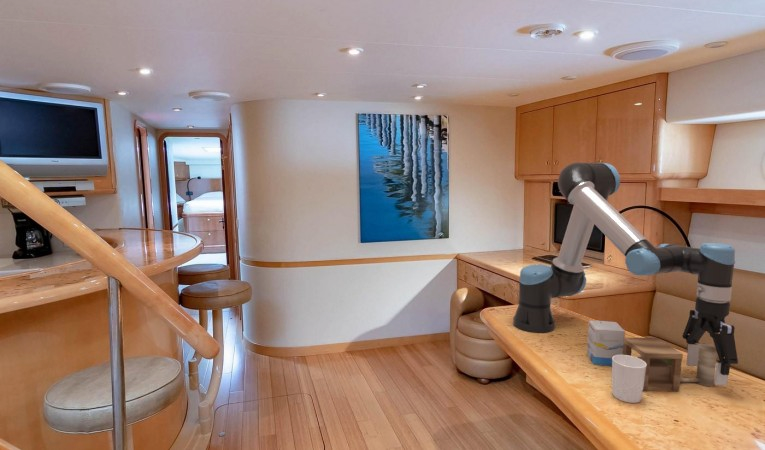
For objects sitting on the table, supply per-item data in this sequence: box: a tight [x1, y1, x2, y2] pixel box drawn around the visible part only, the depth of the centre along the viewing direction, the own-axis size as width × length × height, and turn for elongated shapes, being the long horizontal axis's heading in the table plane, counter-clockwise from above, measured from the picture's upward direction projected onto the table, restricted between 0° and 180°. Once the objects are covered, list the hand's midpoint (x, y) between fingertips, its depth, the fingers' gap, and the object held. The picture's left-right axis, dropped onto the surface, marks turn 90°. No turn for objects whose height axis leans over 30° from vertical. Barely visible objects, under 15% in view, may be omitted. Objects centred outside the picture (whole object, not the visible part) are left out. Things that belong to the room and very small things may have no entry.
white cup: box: [611, 355, 647, 404], centre depth 113 cm, size 8×8×10 cm
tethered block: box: [637, 342, 718, 387], centre depth 120 cm, size 6×20×11 cm, turn 88°
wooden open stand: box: [623, 337, 684, 393], centre depth 121 cm, size 11×10×11 cm
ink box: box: [586, 320, 626, 367], centre depth 135 cm, size 8×8×12 cm
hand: (705, 374), depth 120 cm, fingers open, 11 cm apart
